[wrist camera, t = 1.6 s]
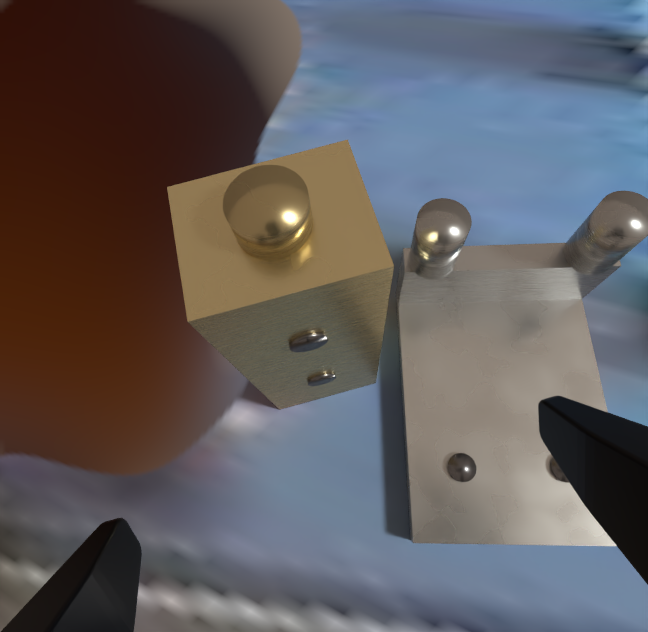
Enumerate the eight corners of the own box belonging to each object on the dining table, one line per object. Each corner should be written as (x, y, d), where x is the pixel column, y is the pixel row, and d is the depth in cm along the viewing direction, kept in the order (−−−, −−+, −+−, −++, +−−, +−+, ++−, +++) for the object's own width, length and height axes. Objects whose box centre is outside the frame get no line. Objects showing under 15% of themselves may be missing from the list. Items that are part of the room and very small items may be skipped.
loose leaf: (376, 385, 22) (399, 249, 9) (280, 412, 22) (171, 311, 9) (353, 312, 23) (346, 109, 11) (263, 336, 23) (150, 161, 11)
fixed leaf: (624, 543, 18) (784, 578, 12) (410, 540, 19) (439, 571, 12) (566, 279, 23) (655, 189, 16) (395, 283, 24) (409, 199, 17)
